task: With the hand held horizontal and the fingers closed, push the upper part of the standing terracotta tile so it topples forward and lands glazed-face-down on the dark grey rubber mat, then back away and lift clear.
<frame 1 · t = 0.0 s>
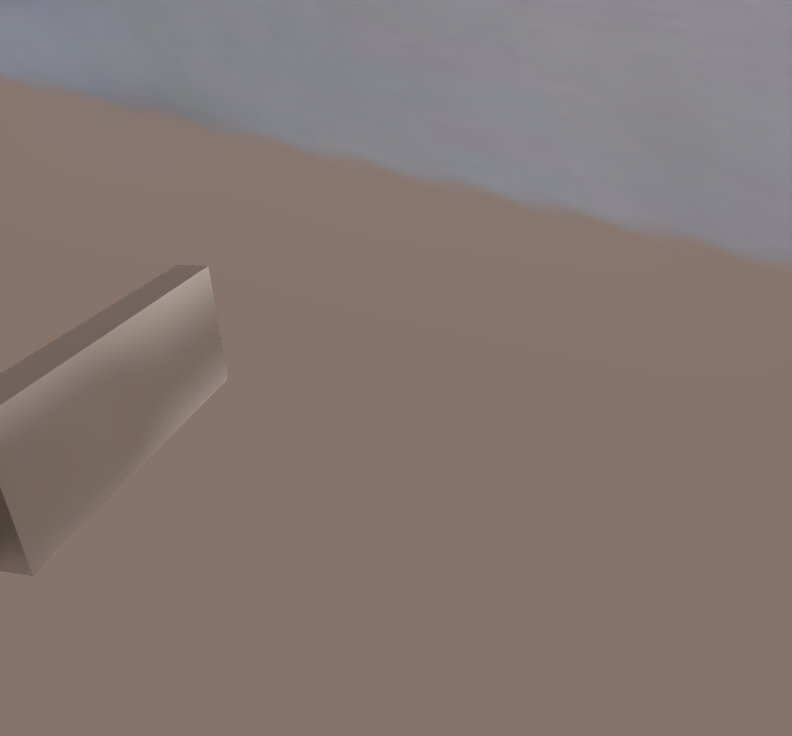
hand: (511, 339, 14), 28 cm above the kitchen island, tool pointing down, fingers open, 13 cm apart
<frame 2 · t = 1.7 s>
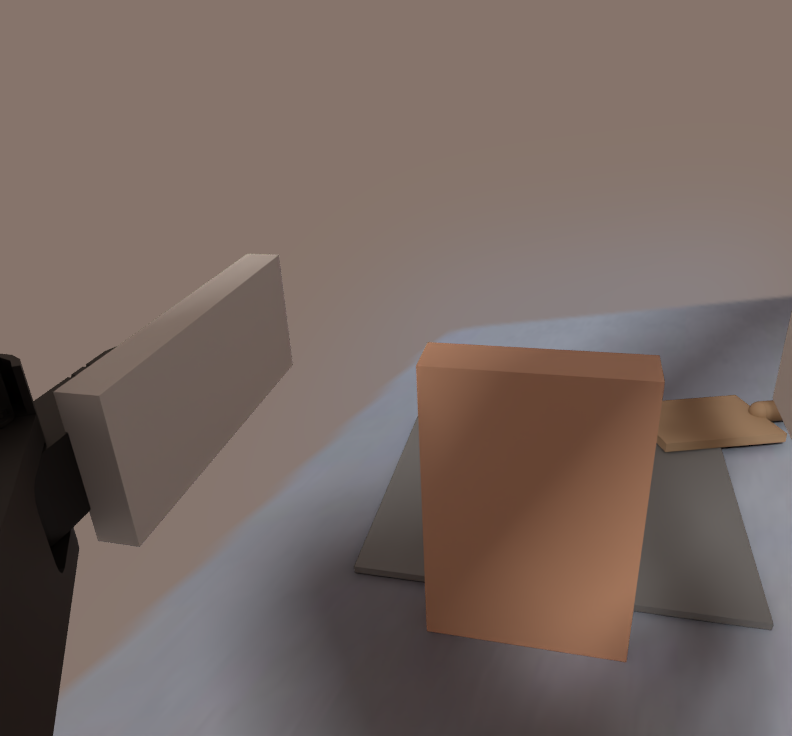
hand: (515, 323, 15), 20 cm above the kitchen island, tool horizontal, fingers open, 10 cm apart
wooden turner: (758, 421, 48), on the kitchen island, touching mat
mat: (555, 500, 41), on the kitchen island
tile: (525, 627, 33), on the kitchen island
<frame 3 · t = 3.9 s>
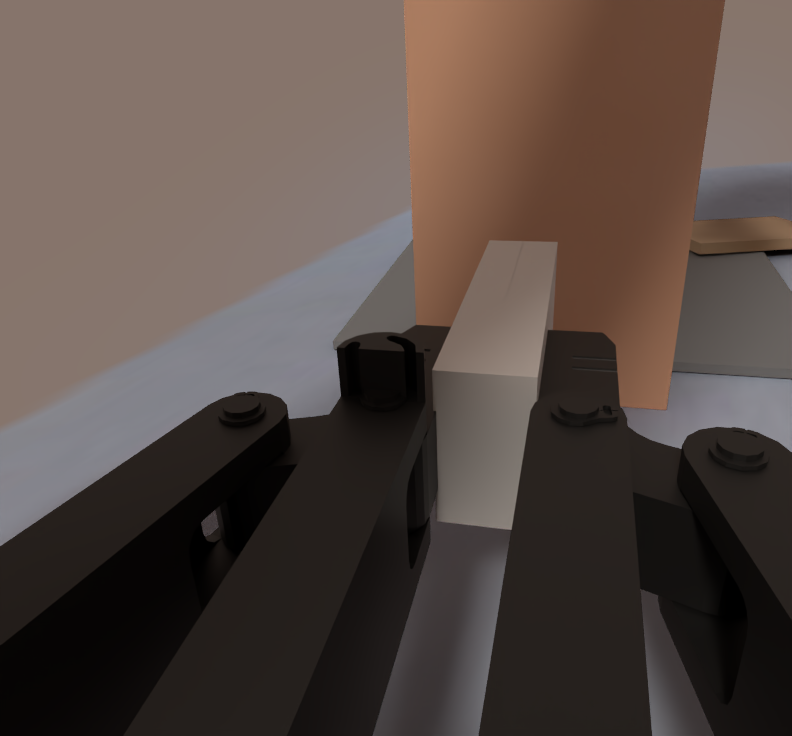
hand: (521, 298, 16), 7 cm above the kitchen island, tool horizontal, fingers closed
mat: (573, 294, 35), on the kitchen island
tile: (539, 386, 27), on the kitchen island
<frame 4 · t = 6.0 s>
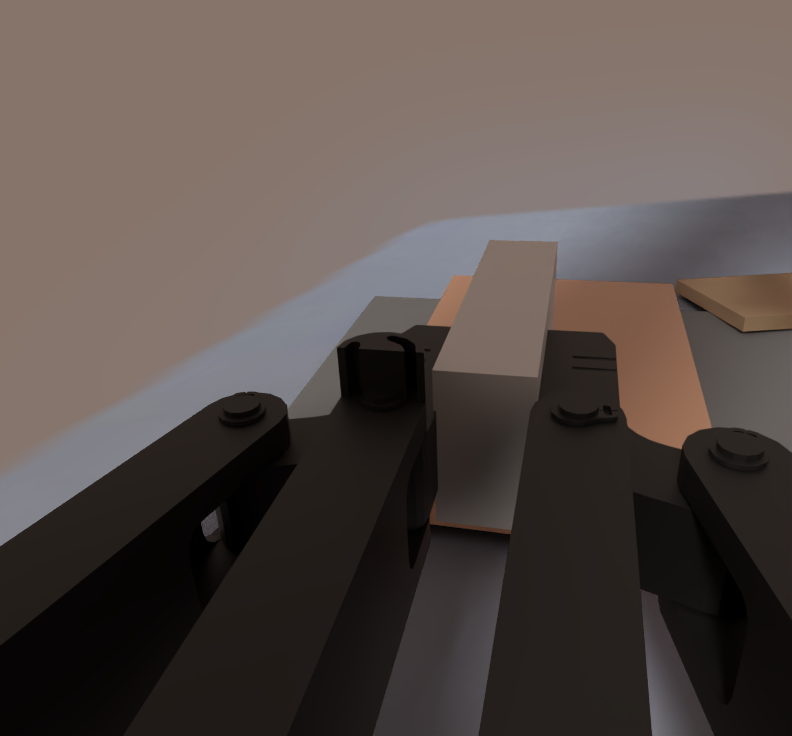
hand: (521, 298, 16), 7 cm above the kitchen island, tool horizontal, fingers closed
mat: (575, 394, 26), on the kitchen island
tile: (530, 502, 18), point 2 cm above the kitchen island, tilted 90°, touching mat
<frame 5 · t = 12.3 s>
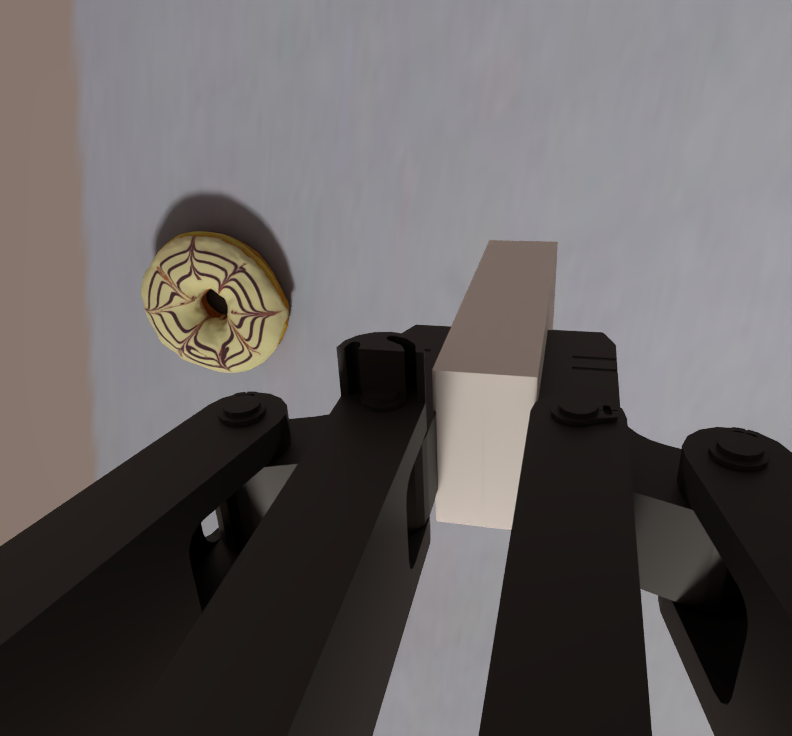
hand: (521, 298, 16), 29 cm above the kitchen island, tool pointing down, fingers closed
decorated donut: (229, 294, 53), on the kitchen island
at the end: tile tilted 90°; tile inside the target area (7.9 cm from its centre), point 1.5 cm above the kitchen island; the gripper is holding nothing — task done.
